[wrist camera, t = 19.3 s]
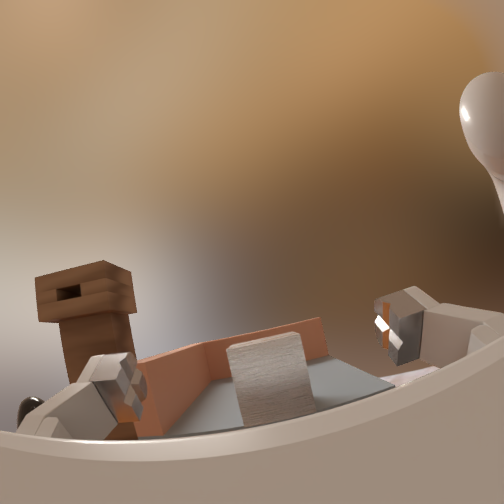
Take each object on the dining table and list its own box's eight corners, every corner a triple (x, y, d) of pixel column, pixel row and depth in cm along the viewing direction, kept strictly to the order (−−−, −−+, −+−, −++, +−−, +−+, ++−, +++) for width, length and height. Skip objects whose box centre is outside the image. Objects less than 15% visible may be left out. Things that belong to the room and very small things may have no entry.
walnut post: (205, 553, 18) (124, 255, 24) (97, 543, 17) (21, 281, 24) (216, 513, 25) (155, 271, 32) (123, 512, 25) (64, 291, 31)
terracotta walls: (394, 385, 14) (380, 311, 14) (137, 436, 13) (119, 365, 14) (325, 353, 31) (317, 317, 32) (200, 380, 31) (192, 344, 32)
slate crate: (404, 571, 10) (394, 385, 14) (217, 608, 10) (137, 436, 13) (348, 479, 28) (325, 353, 31) (235, 503, 27) (200, 380, 31)
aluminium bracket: (316, 412, 13) (299, 333, 14) (244, 427, 13) (225, 349, 14) (289, 368, 27) (280, 327, 28) (252, 376, 27) (243, 335, 28)
